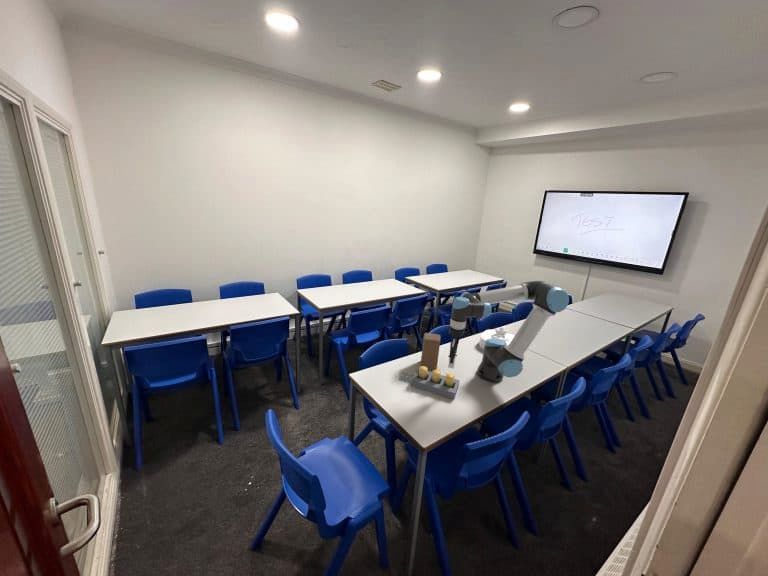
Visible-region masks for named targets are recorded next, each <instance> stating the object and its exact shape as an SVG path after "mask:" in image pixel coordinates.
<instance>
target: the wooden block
mask: <svg viewBox="0 0 768 576" xmlns="http://www.w3.org/2000/svg"><path fill="white" fill-rule="evenodd" d="M422 340H423V341H422V347H421V358H420V359H421V360H420V366H425V367H427V368H428V370H432V371H433V370H438V361H439V356H440V355H439V353H440V346H441V345H440V344H441V334H438V333H437V334H436V333H431V332H430V333H429V332H425V333H424V334H423V339H422ZM420 366H419V367H420Z"/></svg>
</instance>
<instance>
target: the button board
mask: <svg viewBox="0 0 768 576" xmlns="http://www.w3.org/2000/svg"><path fill="white" fill-rule="evenodd" d="M432 372H433V371H429V370H428V371H427V377H426V378H420V377H419V368H418V369H417V370H416V372H415V373H414V377H413V378H412V380H411V383H410V387H413V388H414V389H418V390H422V391H424V392H429V393H431V394H436V395H438V396H441V397H444V398H448V399H451V400H455V399H456V395H457V392H458V390H459V386H460V379H457V378H454V385H453V386H447V385H446V384H445V379H446V375H442V374H441V376H440V381H439V382H433V381H432Z"/></svg>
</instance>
